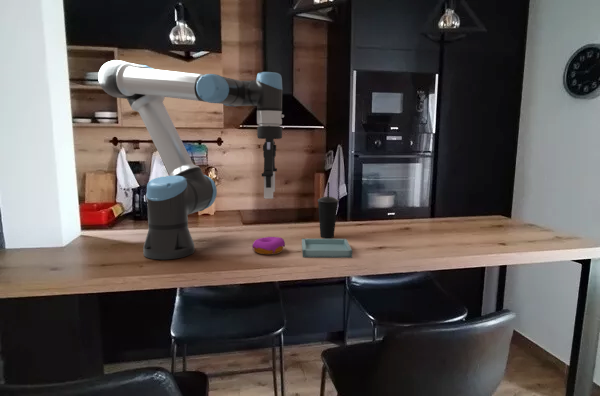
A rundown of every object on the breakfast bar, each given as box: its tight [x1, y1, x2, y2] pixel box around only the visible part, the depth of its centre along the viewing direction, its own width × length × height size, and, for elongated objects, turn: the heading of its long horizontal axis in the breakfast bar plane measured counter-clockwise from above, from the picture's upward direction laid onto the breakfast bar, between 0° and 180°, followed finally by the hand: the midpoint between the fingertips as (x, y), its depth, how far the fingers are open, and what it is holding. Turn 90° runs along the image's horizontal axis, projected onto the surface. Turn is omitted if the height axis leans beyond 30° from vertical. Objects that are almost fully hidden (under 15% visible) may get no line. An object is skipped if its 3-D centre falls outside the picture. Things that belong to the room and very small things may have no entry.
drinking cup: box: [317, 181, 340, 239], centre depth 150 cm, size 8×8×20 cm
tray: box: [301, 238, 353, 259], centre depth 134 cm, size 15×14×2 cm
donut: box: [252, 236, 286, 255], centre depth 133 cm, size 10×10×5 cm
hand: (269, 195), depth 130 cm, fingers open, 13 cm apart
